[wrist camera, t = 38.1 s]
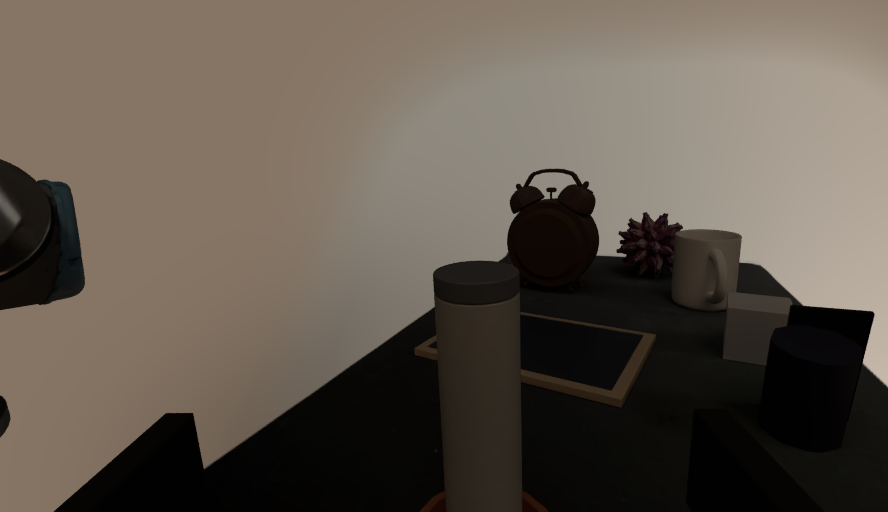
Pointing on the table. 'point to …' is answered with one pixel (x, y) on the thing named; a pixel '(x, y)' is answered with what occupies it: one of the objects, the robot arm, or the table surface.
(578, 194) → the alarm clock
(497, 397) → the grey-capped cream cylinder
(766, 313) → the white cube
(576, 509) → the table surface
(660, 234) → the flower
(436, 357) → the picture frame
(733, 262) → the mug
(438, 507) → the bowl
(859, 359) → the speaker
